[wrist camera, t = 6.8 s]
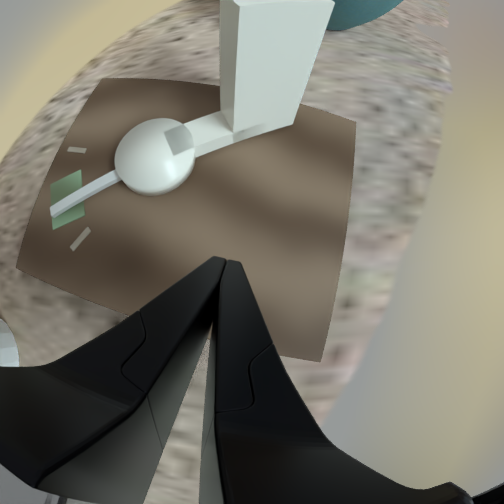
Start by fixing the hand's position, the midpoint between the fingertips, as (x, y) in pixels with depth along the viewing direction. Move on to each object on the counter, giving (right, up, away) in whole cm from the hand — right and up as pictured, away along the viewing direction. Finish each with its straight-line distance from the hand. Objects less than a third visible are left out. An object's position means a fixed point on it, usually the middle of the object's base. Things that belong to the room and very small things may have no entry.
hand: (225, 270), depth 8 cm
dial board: (-4, +5, +9) cm, 11 cm away
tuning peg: (-5, +6, +8) cm, 11 cm away
